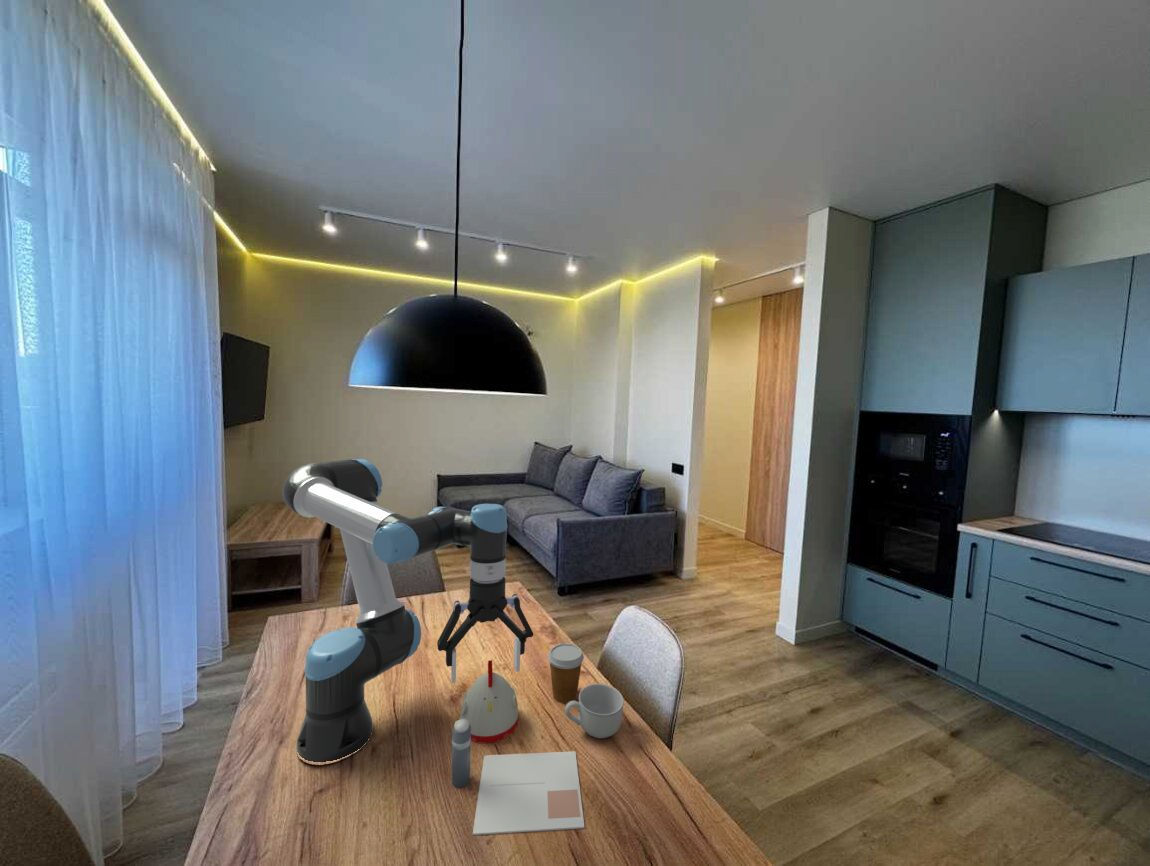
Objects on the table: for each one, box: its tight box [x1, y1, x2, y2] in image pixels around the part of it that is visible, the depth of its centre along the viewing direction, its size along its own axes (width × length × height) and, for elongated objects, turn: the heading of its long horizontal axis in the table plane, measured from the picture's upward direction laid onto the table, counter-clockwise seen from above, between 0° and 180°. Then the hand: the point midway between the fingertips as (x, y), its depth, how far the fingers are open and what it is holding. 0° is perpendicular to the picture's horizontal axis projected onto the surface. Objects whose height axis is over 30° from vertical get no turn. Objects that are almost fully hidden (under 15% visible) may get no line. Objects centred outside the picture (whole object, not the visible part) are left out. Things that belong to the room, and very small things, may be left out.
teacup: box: [564, 683, 625, 739], centre depth 106 cm, size 14×11×8 cm
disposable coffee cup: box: [547, 642, 584, 704], centre depth 118 cm, size 10×10×12 cm
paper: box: [472, 750, 585, 836], centre depth 89 cm, size 20×18×1 cm
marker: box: [451, 718, 472, 789], centre depth 90 cm, size 4×4×12 cm
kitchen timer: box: [459, 659, 519, 744], centre depth 107 cm, size 14×14×15 cm
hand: (485, 673), depth 96 cm, fingers open, 13 cm apart
